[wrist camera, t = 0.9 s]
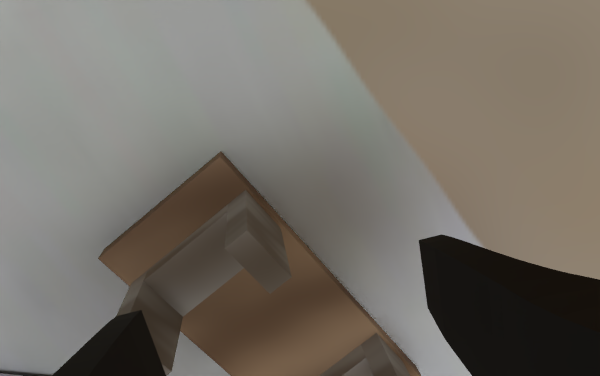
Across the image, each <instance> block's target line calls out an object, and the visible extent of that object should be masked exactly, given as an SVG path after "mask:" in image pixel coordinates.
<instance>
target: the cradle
mask: <svg viewBox="0 0 600 376" xmlns="http://www.w3.org/2000/svg"><path fill="white" fill-rule="evenodd" d="M98 259H99V260H100V261H101V262H103V263H104V264H105V265H106V266H107V267H108V268H109V269H110V270H112V271H113V272H114V273H115V274H116V275H117V276H118V277H120V278H121V279H122V280H123V281H124V282H125V283H126V284H128V285H129V286H130V287H129V290H128V292H127V294H126V296H125V298H124V300H123V303H122V305H121V307H120V309H119V311H118V313H117V316H119V315H123V314H127V313H131V312H135V311H139V310H142V313H143V315H144V318H145V321H146V323H147V326H148V329H149V331H150V334H151V337H152V339H153V342H154V345H155V347H156V350H157V353H158V355H159V358H160V361H161V363H162V366H163V369H164V371H165V374H166V375H168V374H169V373H170V372H171V371H172V367H173V362H174V357H175V352H176V348H177V343H178V338H179V333H180V331H181V332H182V333H183V334H184V335H185V336H187V337H188V338H189V339H190V340H191V341H192V342H193V343H195V344H196V345H197V346H198V347H199V348H200V349H201V350H202V351H204V352H205V353H206V354H207V355H208V356H209V357H210V358H212V359H213V360H214V361H215V362H216V363H217V364H218V365H220V366H221V367H222V368H223V369H224V370H225V371H226V372H227V373H229V374H230V375H231V376H421V374H420V373H419V371H418V369H417V367H416V366H415V365H414V364H413V363H412V362H411V360H410V359H409V358H408V357H407V356H406V355H405V354H404V353H403V352H402V351H401V349H400V348H399V347H398V346H397V345H396V344H395V343H394V342H393V341H392V340H391V338H390V337H389V336H388V335H387V334H386V333H385V332H384V331H383V330H382V328H381V327H380V326H379V325H378V324H377V323H376V322H375V321H374V320H373V319H372V317H371V316H370V315H369V314H368V313H367V312H366V311H365V310H364V309H363V308H362V306H361V305H360V304H359V303H358V302H357V301H356V300H355V299H354V298H353V297H352V295H351V294H350V293H349V292H348V291H347V290H346V289H345V288H344V287H343V285H342V284H341V283H340V282H339V281H338V280H337V279H336V278H335V277H334V276H333V274H332V273H331V272H330V271H329V270H328V269H327V268H326V267H325V266H324V265H323V263H322V262H321V261H320V260H319V259H318V258H317V257H316V256H315V255H314V253H313V252H312V251H311V250H310V249H309V248H308V247H307V246H306V245H305V244H304V242H303V241H302V240H301V239H300V238H299V237H298V236H297V235H296V234H295V233H294V231H293V230H292V229H291V228H290V227H289V226H288V225H287V224H286V223H285V221H284V220H283V219H282V218H281V217H280V216H279V215H278V214H277V213H276V212H275V210H274V209H273V208H272V207H271V206H270V205H269V204H268V203H267V202H266V201H265V199H264V198H263V197H262V196H261V195H260V194H259V193H258V192H257V191H256V189H255V188H254V187H253V186H252V185H251V184H250V183H249V182H248V181H247V180H246V178H245V177H244V176H243V175H242V174H241V173H240V172H239V171H238V170H237V169H236V167H235V166H234V165H233V164H232V163H231V162H230V161H229V160H228V159H227V157H226V156H225V155H224V154H223V153H222V152H220V153H218V154H217V155H216V156H215V157H214V158H213V159H211V160H210V161H209V162H208V163H207V164H205V165H204V166H203V167H202V168H201V169H199V170H198V171H197V172H196V173H195V174H193V175H192V176H191V177H190V178H189V179H187V180H186V181H185V182H184V183H183V184H181V185H180V186H179V187H178V188H177V189H175V190H174V191H173V192H172V193H171V194H170V195H168V196H167V197H166V198H165V199H164V200H162V201H161V202H160V203H159V204H158V205H156V206H155V207H154V208H153V209H152V210H150V211H149V212H148V213H147V214H146V215H144V216H143V217H142V218H141V219H140V220H138V221H137V222H136V223H135V224H134V225H132V226H131V227H130V228H129V229H128V230H127V231H125V232H124V233H123V234H122V235H121V236H119V237H118V238H117V239H116V240H115V241H113V242H112V243H111V244H110V245H109V246H107V247H106V248H105V249H104V251H103V252H102V254H101V255H100V257H99V258H98Z"/></svg>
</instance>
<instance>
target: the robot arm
mask: <svg viewBox="0 0 600 376" xmlns="http://www.w3.org/2000/svg"><path fill="white" fill-rule="evenodd" d="M419 244H420V252H421V260H422V267H423V275H424V283H425V290H426V298H427V305H428V309H429V311H430V313H431V314H432V316H433V318H434V320H435V322H436V324H437V326H438V327H439V329H440V331H441V333H442V334H443V336H444V338H445V340H446V341H447V342H448V344H449V345H450V346H451V348H452V349H453V351H454V352H455V353H456V355H457V356H458V357H459V359H460V360H461V361H462V363H463V364H464V365H465V367H466V368H467V369H468V371H469V372H470V373H471V375H472V376H600V280H598V279H594V278H589V277H584V276H579V275H574V274H569V273H565V272H561V271H557V270H553V269H549V268H546V267H542V266H539V265H535V264H531V263H528V262H525V261H521V260H518V259H514V258H512V257H509V256H506V255H502V254H500V253H496V252H494V251H491V250H488V249H485V248H482V247H479V246H476V245H473V244H471V243H468V242H465V241H462V240H459V239H456V238H453V237H449V236H445V235H438V236H434V237H430V238H426V239H422V240H419ZM0 376H21V375H11V374H0ZM52 376H166V374H165V371H164V369H163V366H162V363H161V361H160V358H159V355H158V353H157V350H156V347H155V345H154V342H153V339H152V337H151V334H150V331H149V329H148V326H147V323H146V321H145V318H144V315H143V313H142V310H139V311H135V312H131V313H127V314H123V315H119V316H116V317H115V318H114V319H112V320H111V321H110V322H109V323H107V324H106V325H105V326H104V327H103V328H102V329H101V330H100V331H99V332H98V333H97V334H95V335H94V336H93V337H92V338H91V339H90V340H89V341H88V342H87V343H86V344H85V345H84V346H83V347H82V348H81V349H80V350H79V351H78V352H77V353H76V354H74V355H73V356H72V357H71V358H70V359H69V360H68V361H67V362H66V363H65V364H64V365H63V366H62V367H61V368H60V369H59V370H58V371H57V372H55V373H54V374H53V375H52Z"/></svg>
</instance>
